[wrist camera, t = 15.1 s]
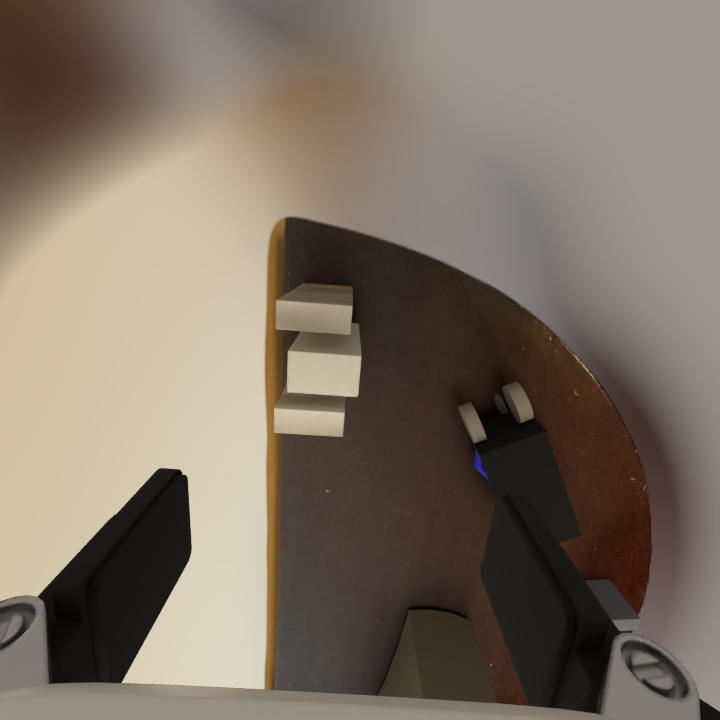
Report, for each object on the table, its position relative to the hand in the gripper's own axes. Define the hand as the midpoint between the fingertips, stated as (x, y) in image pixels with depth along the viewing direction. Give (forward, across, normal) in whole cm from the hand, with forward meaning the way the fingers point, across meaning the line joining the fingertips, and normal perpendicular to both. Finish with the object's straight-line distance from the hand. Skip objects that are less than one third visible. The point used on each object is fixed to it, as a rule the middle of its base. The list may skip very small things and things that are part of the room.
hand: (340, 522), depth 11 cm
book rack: (+25, +3, 0) cm, 25 cm away
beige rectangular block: (+24, +2, 0) cm, 24 cm away
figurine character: (+25, -16, +10) cm, 32 cm away
